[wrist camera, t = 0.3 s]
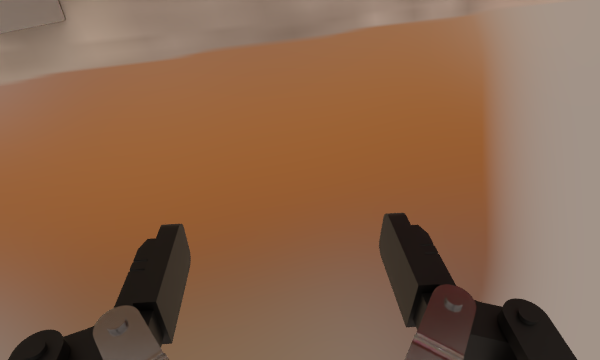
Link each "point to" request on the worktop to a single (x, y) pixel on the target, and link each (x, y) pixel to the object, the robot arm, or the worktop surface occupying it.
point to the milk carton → (28, 14)
